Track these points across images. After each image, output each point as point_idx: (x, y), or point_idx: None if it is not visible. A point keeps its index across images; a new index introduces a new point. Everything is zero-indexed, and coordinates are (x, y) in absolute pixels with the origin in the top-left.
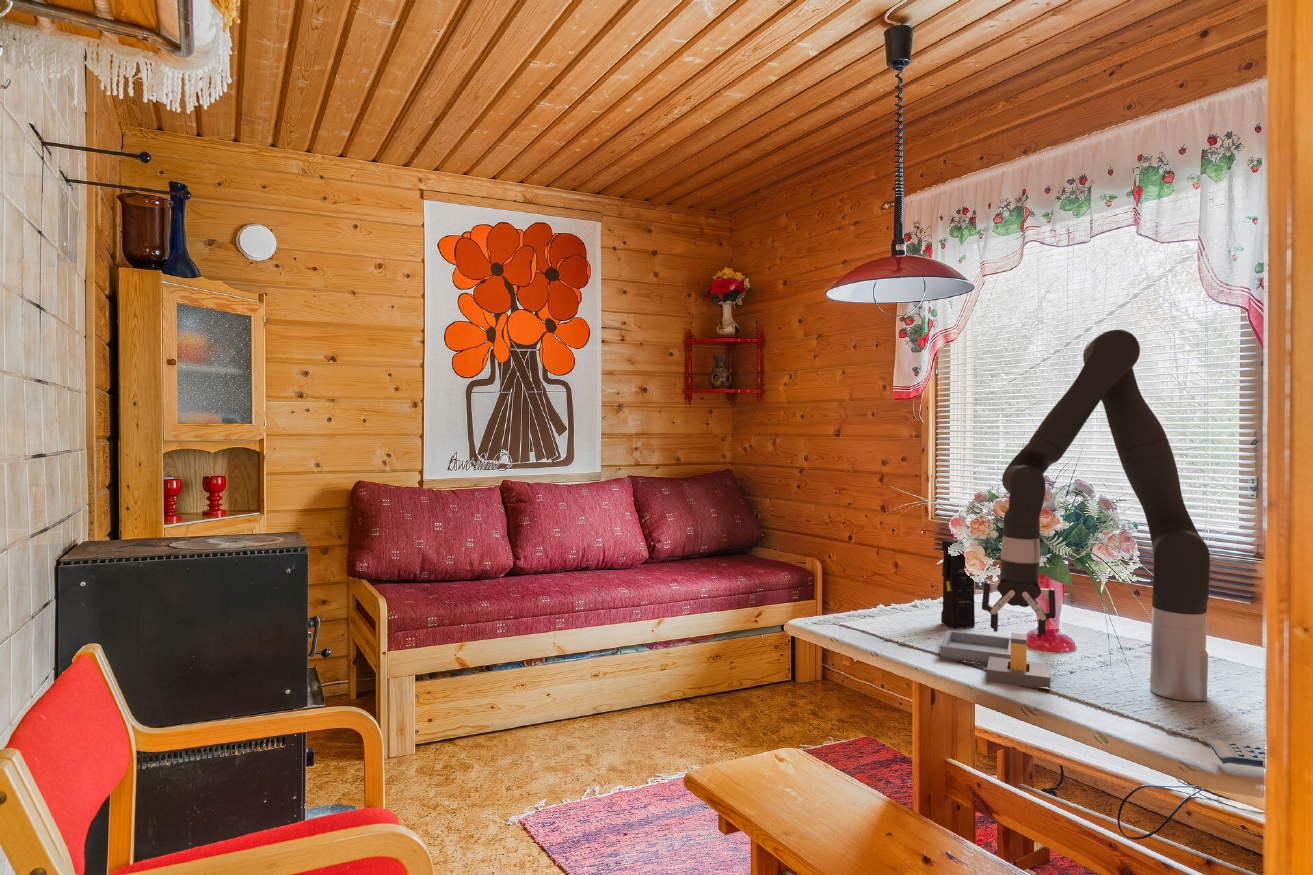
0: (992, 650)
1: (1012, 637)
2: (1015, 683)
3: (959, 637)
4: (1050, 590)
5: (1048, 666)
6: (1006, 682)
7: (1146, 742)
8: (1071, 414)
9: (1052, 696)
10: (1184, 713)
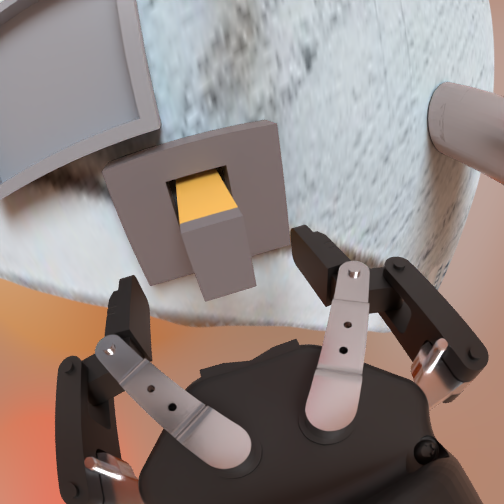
0: (74, 26)
1: (205, 289)
2: None
3: None
4: (447, 399)
5: (276, 151)
6: None
7: (377, 322)
8: None
9: (287, 262)
10: (438, 205)
